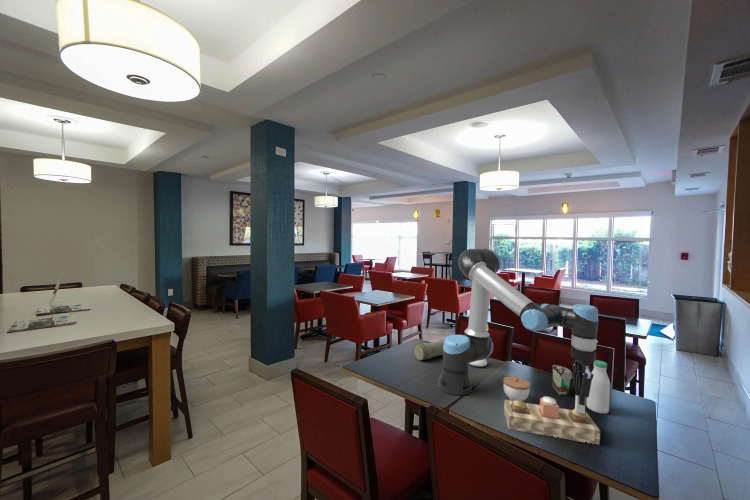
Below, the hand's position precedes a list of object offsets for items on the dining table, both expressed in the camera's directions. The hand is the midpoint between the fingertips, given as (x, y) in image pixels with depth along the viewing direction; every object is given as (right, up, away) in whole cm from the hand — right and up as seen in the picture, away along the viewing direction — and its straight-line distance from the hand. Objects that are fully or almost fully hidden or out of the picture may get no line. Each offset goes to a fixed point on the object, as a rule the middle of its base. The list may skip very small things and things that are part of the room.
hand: (579, 412), depth 115 cm
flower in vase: (-18, -5, +60) cm, 63 cm away
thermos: (-50, +1, +63) cm, 80 cm away
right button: (0, -6, 0) cm, 6 cm away
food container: (+13, -7, +32) cm, 35 cm away
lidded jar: (-13, -6, +23) cm, 27 cm away
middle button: (-10, -3, +3) cm, 11 cm away
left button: (-20, -5, +5) cm, 21 cm away
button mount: (-10, -7, +3) cm, 13 cm away
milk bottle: (+18, -8, +17) cm, 26 cm away
